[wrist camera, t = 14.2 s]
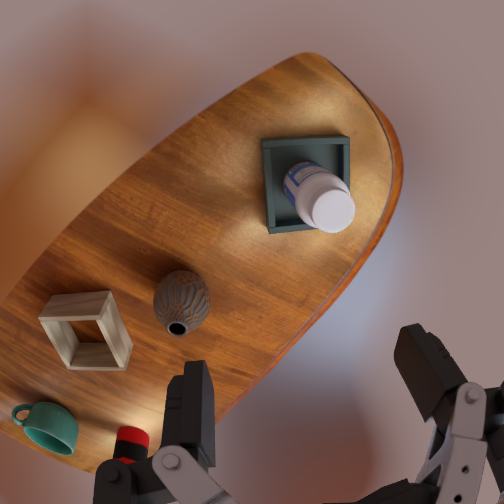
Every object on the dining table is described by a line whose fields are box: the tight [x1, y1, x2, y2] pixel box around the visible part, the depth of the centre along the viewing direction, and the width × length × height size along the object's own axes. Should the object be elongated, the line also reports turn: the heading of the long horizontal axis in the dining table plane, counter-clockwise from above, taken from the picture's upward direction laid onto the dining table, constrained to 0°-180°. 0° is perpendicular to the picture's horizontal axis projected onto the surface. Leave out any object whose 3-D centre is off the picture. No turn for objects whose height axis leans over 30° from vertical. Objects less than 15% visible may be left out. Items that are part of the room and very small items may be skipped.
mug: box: [12, 402, 78, 455], centre depth 48 cm, size 17×13×10 cm
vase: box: [153, 270, 210, 337], centre depth 36 cm, size 7×7×9 cm
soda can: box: [113, 427, 149, 464], centre depth 52 cm, size 8×8×12 cm
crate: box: [38, 290, 133, 371], centre depth 39 cm, size 11×11×6 cm
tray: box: [260, 135, 350, 234], centre depth 34 cm, size 11×10×2 cm
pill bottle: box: [283, 161, 355, 233], centre depth 30 cm, size 6×5×10 cm
